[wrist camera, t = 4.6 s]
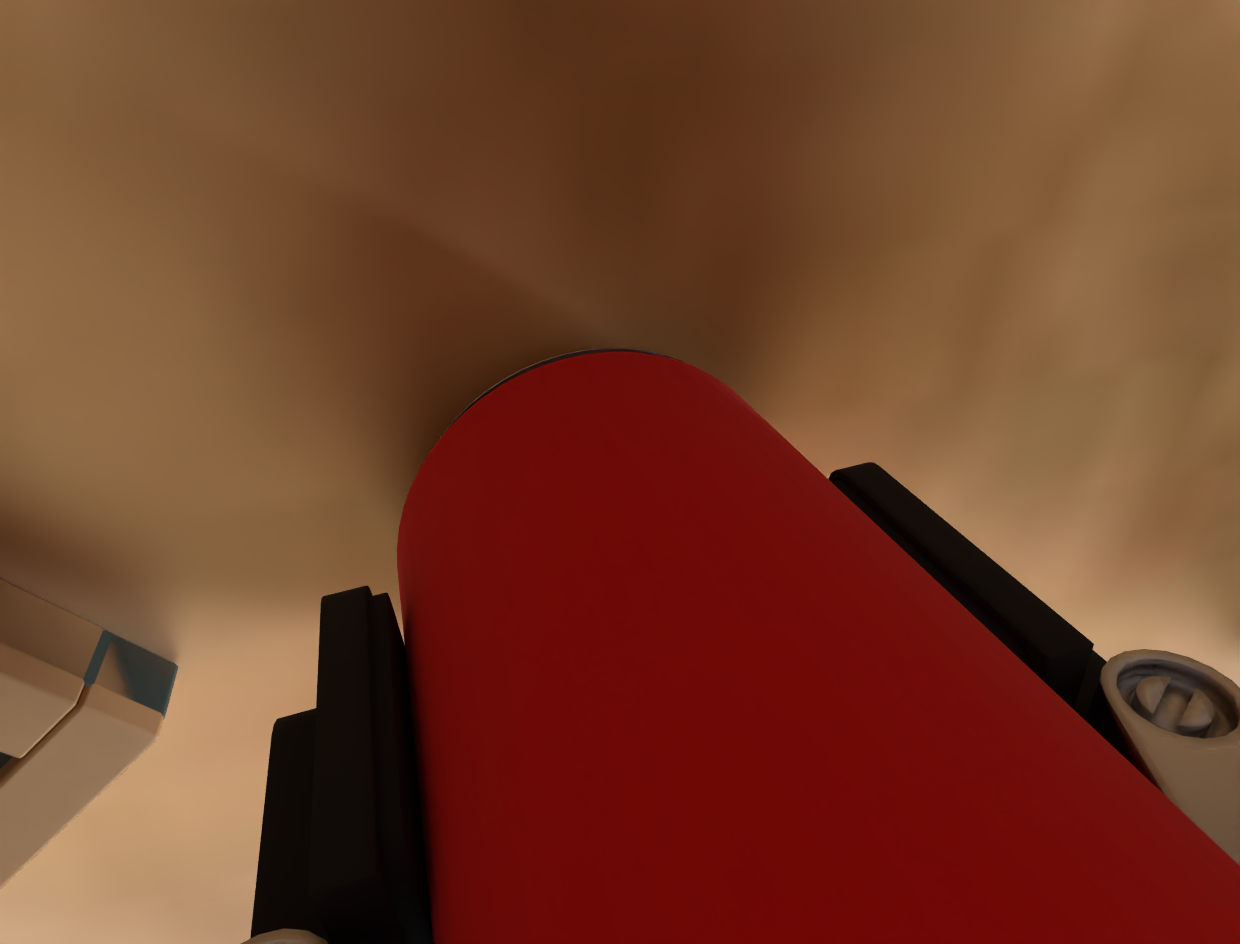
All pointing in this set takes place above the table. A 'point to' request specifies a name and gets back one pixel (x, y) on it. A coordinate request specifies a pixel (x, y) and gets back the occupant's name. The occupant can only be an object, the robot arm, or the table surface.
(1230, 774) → the robot arm
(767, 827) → the beverage can
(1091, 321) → the table surface
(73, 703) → the chalkboard
